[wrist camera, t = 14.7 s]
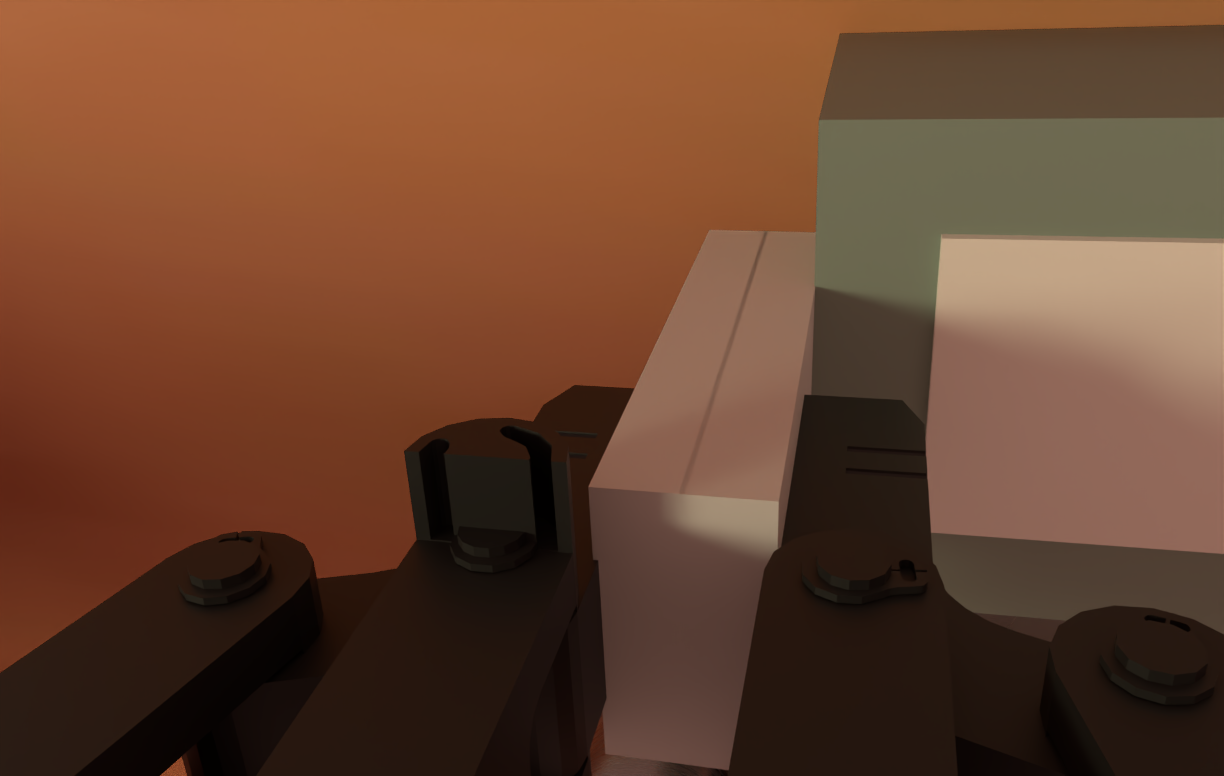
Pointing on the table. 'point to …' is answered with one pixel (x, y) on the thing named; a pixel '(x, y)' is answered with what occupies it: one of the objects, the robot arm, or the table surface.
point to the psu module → (1038, 301)
